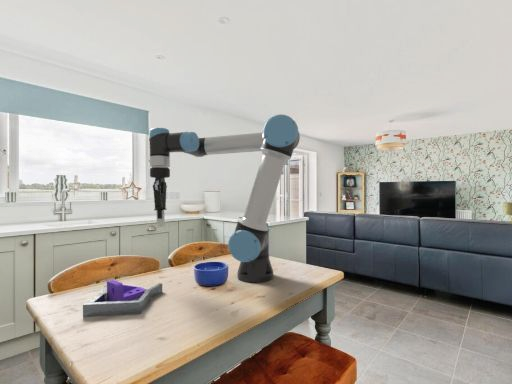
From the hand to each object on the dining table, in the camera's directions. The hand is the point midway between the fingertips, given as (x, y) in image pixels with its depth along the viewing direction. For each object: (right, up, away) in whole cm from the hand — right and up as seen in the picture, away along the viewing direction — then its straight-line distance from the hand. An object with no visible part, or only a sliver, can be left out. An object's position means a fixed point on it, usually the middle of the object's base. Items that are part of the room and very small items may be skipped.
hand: (160, 226), depth 111 cm
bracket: (-5, -23, -16) cm, 28 cm away
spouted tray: (-5, -22, -20) cm, 31 cm away
